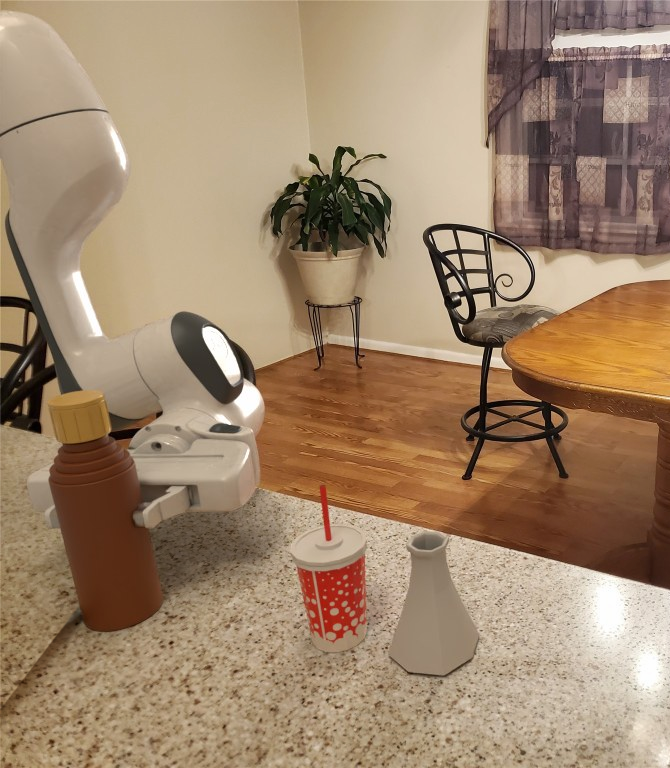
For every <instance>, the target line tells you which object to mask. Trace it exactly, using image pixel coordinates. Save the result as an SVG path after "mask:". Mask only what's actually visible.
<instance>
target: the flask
mask: <svg viewBox="0 0 670 768" xmlns="http://www.w3.org/2000/svg"><path fill="white" fill-rule="evenodd" d="M449 543H450V537H449V536H447V535H445V534H444V533H442V532H440V531H431V530H422V531H421V532H418V533H416V534H414V535H412V536H410V537H409V539H408V541H407V542H406V545H405V549H406V550H407V552H409V554H410V564H411V570H410V575H409V576H410V577H409V582H408V583H409V585H408V588H407V589H408V590H407V592H406V596H405V600H404V603H403V606H402V609H401V613H400V617H399V620H398V621H397V626H396V629H395V632H394V634H393V637H392V640H391V643H390V647H389V649H388V653H387V655H388V656H389V657H390V658H391V659H393V660H394V661H395V662H396V663H397V664H399V665H400V666H401V667H402V668H403V669H404V670H406V671H407V672H408V673H415V674H416V673H417V674H426V675H436V676H445V675H447V674H450V673H451V672H452V671H454V670H456V669H457V668H459V666H461V665H463V664H464V663H466V662H468V661H470V660H471V659H473V656H474V653H475V650H476V646H477V643H478V641H479V637H480V633H479V630H478V629H477V627H476V625H475V622H474V620H473V619H472V617H471V615H470V613H469V611H468V609H467V608H466V606H465V604H464V603H463V600H462V598H461V596H460V594H459V591H458V590H457V587H456V585H455V583H454V581H453V579H452V575H451V572H450V567H449V564H448V561H447V550H446V549H447V547H448V545H449Z"/></svg>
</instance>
